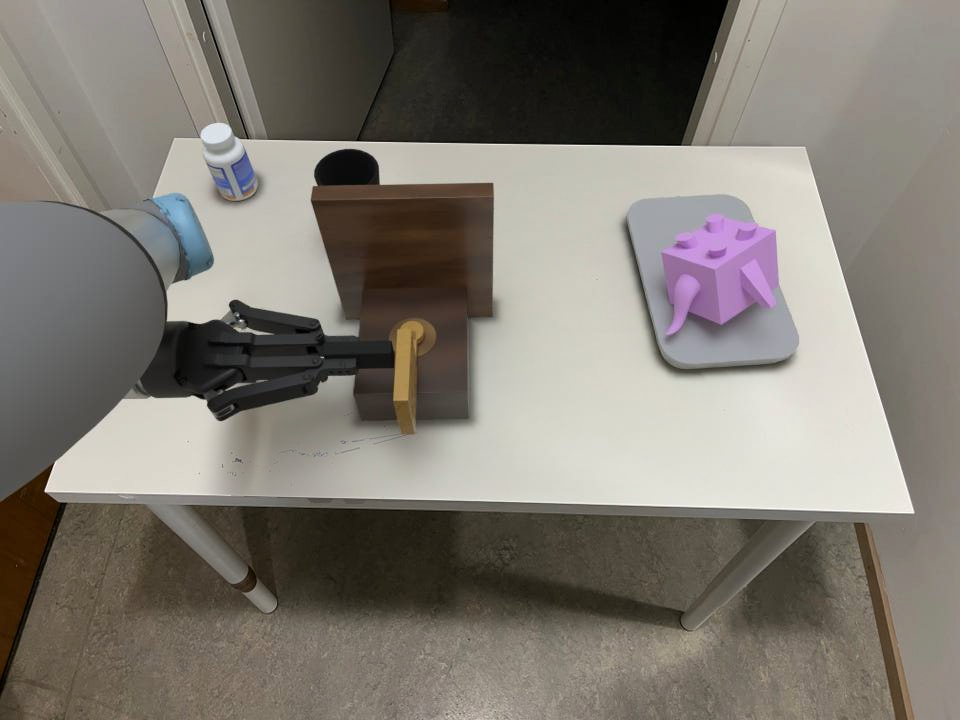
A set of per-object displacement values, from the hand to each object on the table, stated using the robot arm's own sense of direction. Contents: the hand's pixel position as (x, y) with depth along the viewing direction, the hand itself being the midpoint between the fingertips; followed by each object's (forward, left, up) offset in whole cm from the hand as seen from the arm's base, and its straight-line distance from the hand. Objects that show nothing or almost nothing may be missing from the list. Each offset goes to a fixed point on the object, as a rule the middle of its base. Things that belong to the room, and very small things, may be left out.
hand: (392, 354), depth 67 cm
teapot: (+15, -35, 0) cm, 38 cm away
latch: (+1, -1, -6) cm, 6 cm away
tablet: (+17, -37, -12) cm, 42 cm away
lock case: (+6, -1, -12) cm, 13 cm away
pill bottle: (+36, +25, -12) cm, 45 cm away
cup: (+26, +7, -12) cm, 29 cm away
